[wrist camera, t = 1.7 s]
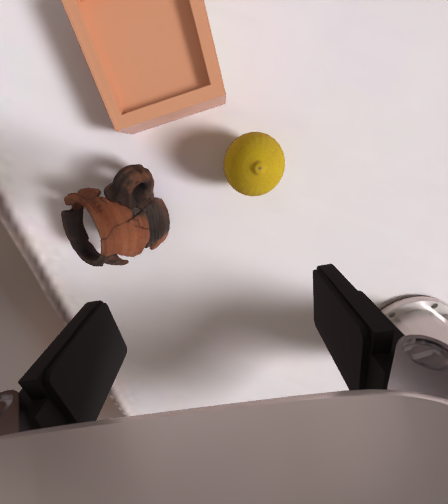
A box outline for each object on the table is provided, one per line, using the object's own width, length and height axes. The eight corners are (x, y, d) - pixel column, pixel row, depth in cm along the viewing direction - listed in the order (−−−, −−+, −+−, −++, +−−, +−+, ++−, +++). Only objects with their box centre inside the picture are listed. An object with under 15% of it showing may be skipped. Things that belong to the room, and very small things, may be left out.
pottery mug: (161, 262, 31) (104, 292, 24) (115, 218, 33) (51, 234, 26) (196, 185, 24) (130, 197, 18) (135, 134, 26) (55, 128, 19)
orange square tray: (193, -33, 20) (185, -78, 16) (225, 103, 23) (225, 94, 20) (84, 11, 21) (52, -21, 17) (132, 134, 24) (115, 131, 21)
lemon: (261, 196, 27) (275, 214, 20) (216, 177, 26) (213, 188, 19) (283, 147, 25) (308, 147, 18) (235, 125, 24) (241, 114, 17)
